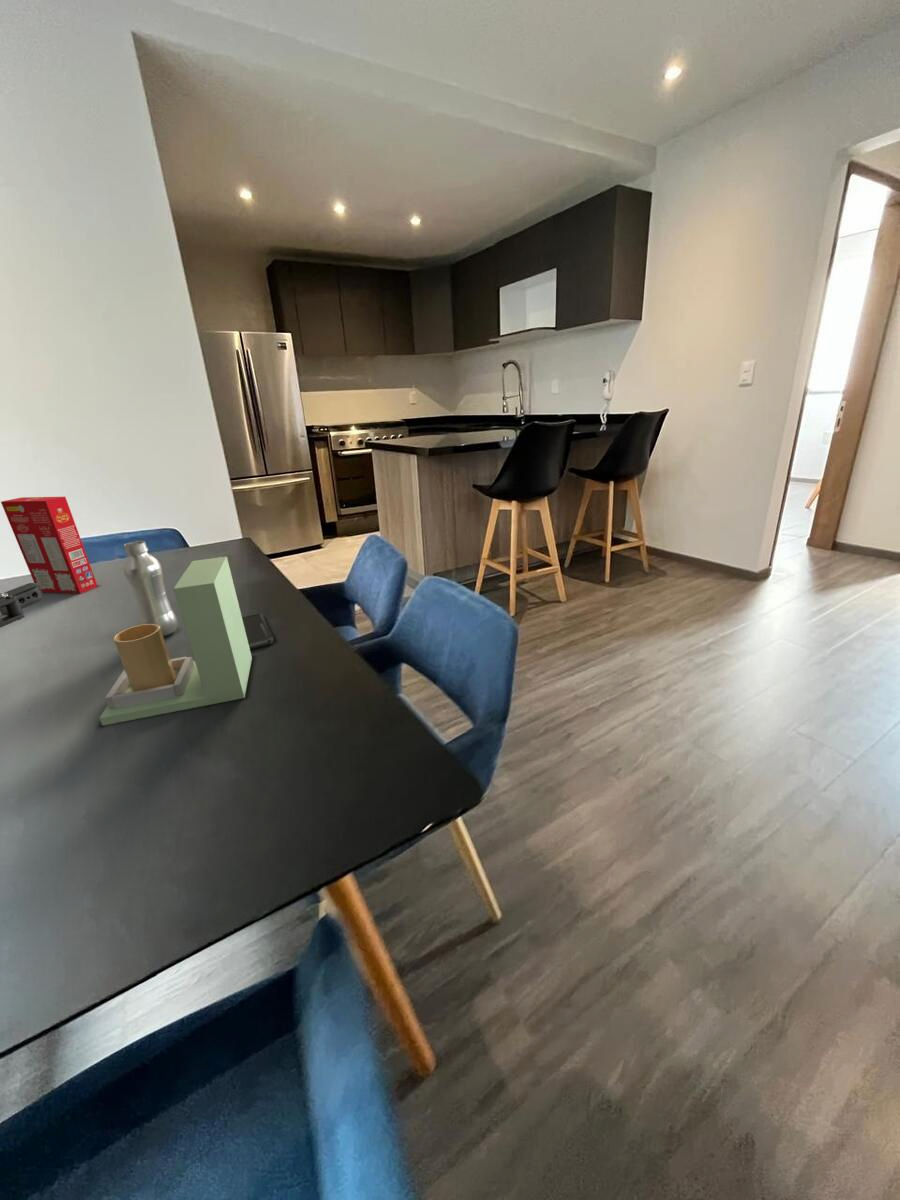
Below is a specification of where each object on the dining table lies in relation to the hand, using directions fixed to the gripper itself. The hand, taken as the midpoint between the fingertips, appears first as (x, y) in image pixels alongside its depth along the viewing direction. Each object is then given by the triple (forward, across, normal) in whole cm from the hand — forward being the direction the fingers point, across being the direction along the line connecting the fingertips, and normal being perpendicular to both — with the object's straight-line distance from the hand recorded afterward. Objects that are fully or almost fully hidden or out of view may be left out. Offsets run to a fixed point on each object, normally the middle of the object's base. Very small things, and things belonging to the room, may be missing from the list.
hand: (8, 590), depth 58 cm
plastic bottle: (+37, +16, +25) cm, 48 cm away
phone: (+37, -4, +25) cm, 45 cm away
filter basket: (+15, 0, +24) cm, 28 cm away
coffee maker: (+17, -3, +25) cm, 31 cm away
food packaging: (+63, +65, +25) cm, 94 cm away
